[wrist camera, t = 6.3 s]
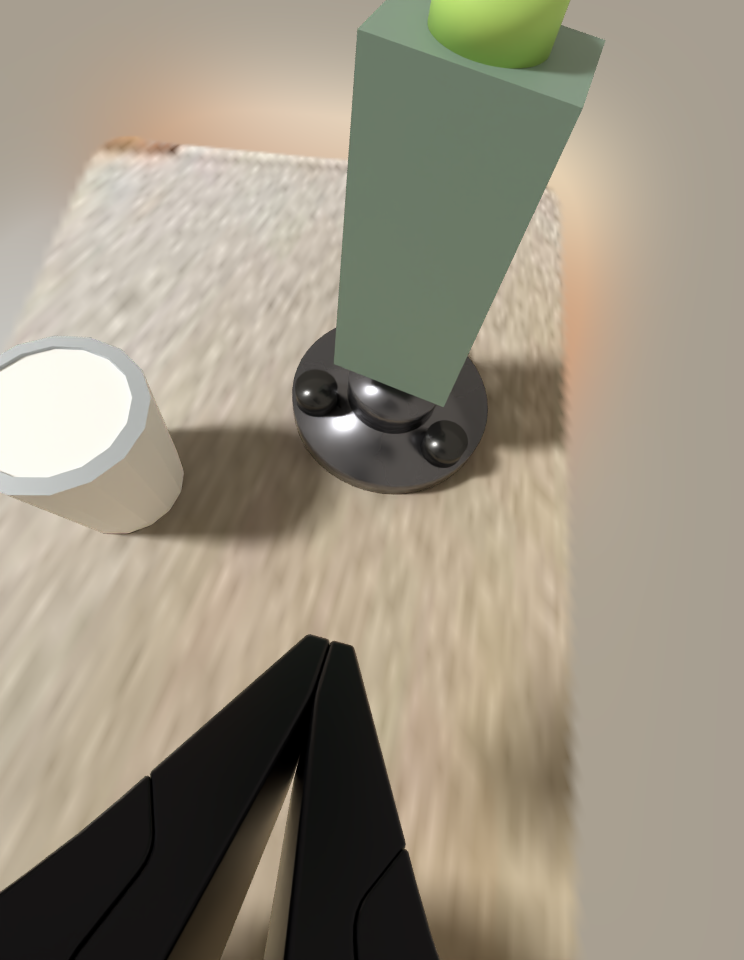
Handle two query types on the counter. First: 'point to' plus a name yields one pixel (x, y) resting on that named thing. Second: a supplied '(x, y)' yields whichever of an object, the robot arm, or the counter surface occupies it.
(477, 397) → the base
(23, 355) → the white cup
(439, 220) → the dome-topped green pillar
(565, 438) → the counter surface
